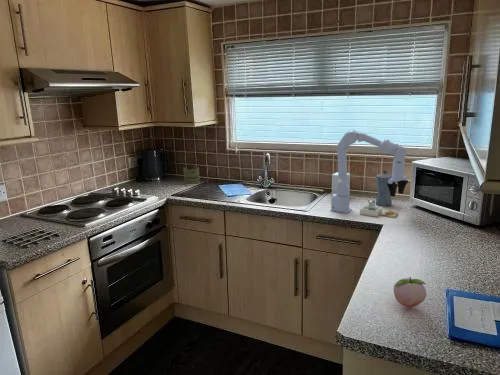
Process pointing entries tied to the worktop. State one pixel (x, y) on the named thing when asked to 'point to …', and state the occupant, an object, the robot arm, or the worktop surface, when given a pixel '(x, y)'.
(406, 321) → the worktop surface
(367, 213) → the tray
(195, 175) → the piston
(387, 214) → the stud block
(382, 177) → the moka pot
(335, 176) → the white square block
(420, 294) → the decorative fruit
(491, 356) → the worktop surface
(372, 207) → the coffee tamper
